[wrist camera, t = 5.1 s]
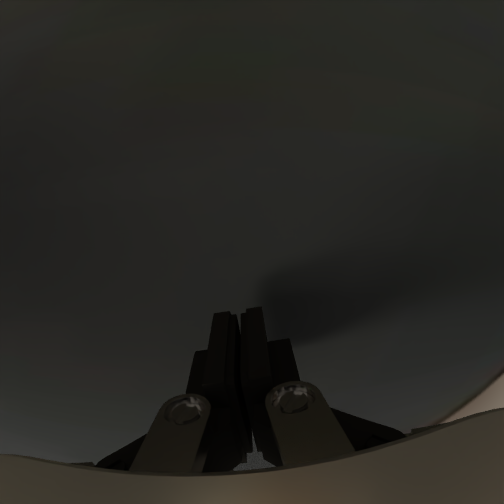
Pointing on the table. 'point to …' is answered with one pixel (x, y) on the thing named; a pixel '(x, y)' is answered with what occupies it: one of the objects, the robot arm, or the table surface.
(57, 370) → the table surface
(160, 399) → the table surface
